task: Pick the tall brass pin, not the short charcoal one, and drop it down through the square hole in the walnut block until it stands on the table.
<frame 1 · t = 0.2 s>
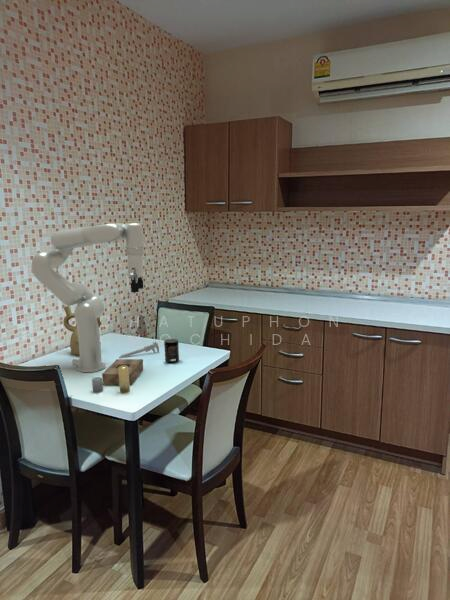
hand: (137, 290, 207), 36 cm above the table, tool pointing down, fingers open, 9 cm apart
long pin: (124, 390, 186), on the table
supplement container: (172, 362, 223), on the table
hole block: (124, 377, 202), on the table
short pin: (98, 390, 187), on the table
caliper: (139, 356, 235), on the table
ceramic vessel: (85, 352, 242), on the table
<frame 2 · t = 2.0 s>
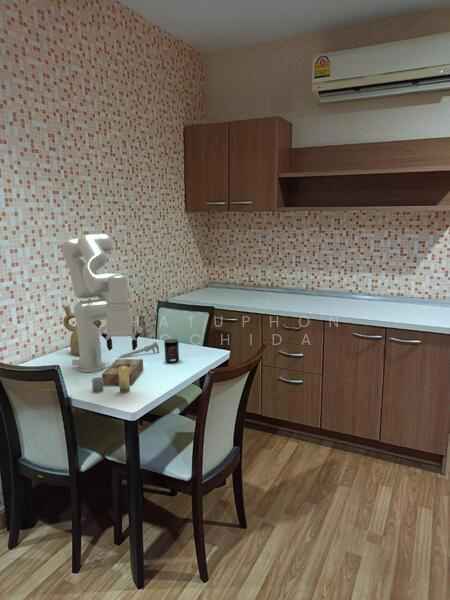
hand: (122, 349, 183), 17 cm above the table, tool pointing down, fingers open, 9 cm apart
nothing on the table moved.
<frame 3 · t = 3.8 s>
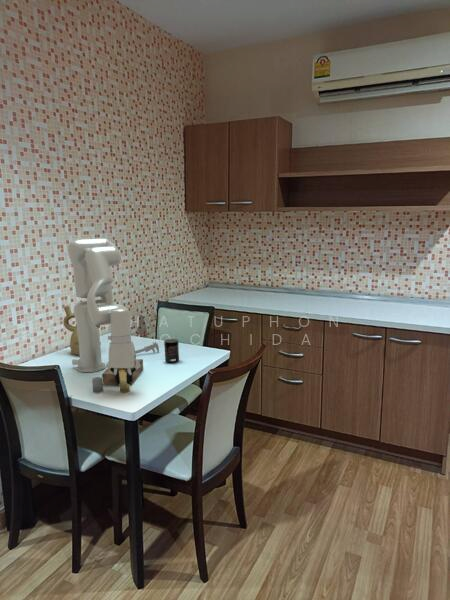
hand: (124, 383, 186), 3 cm above the table, tool pointing down, fingers closed on long pin, 4 cm apart
long pin: (124, 390, 186), on the table, touching gripper
everything else where it was.
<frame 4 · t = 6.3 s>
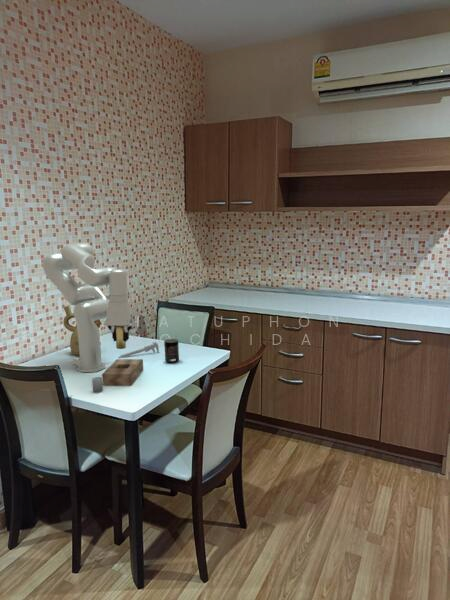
hand: (120, 340, 199), 17 cm above the table, tool pointing down, fingers closed on long pin, 4 cm apart
long pin: (121, 347, 199), point 14 cm above the table, touching gripper
everything else where it was.
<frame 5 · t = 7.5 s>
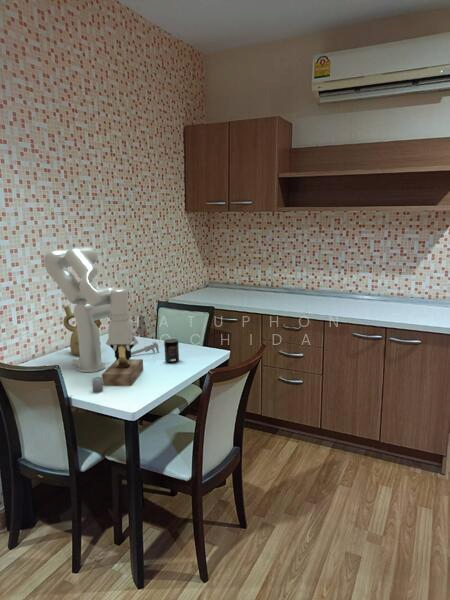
hand: (123, 358, 201), 8 cm above the table, tool pointing down, fingers closed on long pin, 4 cm apart
long pin: (123, 365, 201), point 5 cm above the table, touching gripper
everything else where it was.
when the fingers open (6 cm above the table, at t = 8.6 s): long pin drops 3 cm, resting in hole block.
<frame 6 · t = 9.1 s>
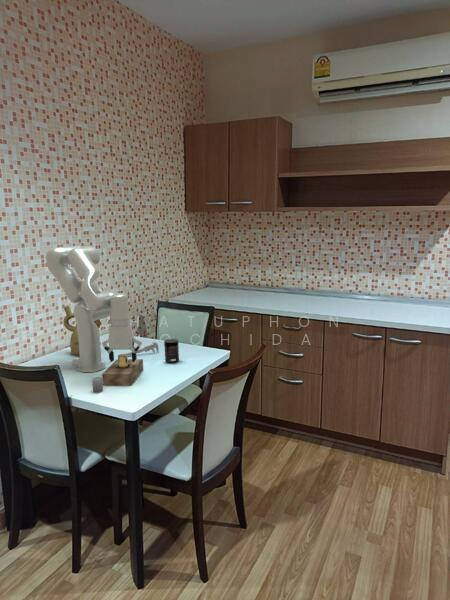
hand: (123, 361, 201), 7 cm above the table, tool pointing down, fingers open, 9 cm apart
long pin: (124, 377, 202), resting in hole block
everything else where it was.
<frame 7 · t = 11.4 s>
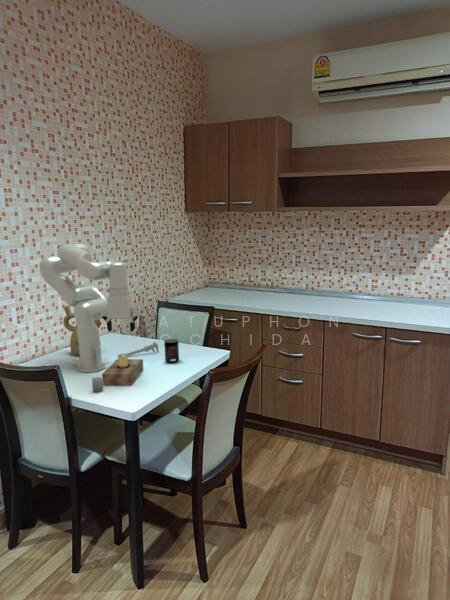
hand: (121, 331, 199), 21 cm above the table, tool pointing down, fingers open, 9 cm apart
nothing on the table moved.
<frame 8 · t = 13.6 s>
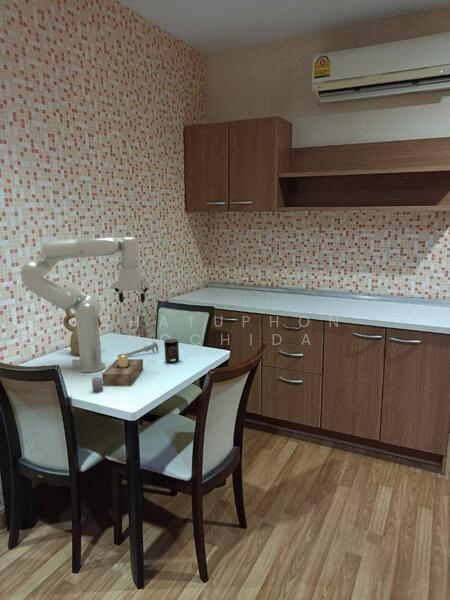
hand: (132, 302, 213), 30 cm above the table, tool pointing down, fingers open, 9 cm apart
nothing on the table moved.
at the end: long pin 0.0 cm off-centre on the hole block, point 0.0 cm above the hole block's base; long pin tilted 0°; short pin moved 0.1 cm from its start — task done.
